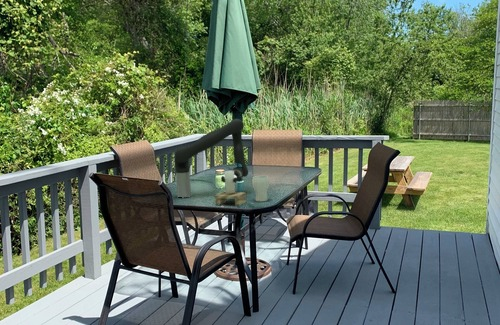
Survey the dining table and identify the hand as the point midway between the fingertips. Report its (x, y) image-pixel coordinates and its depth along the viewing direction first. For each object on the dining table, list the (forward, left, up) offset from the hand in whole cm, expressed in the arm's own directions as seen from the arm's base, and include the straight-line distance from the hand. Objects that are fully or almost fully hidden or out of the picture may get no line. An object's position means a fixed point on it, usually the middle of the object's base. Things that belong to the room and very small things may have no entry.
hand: (228, 180), depth 313 cm
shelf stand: (+1, +2, -15) cm, 15 cm away
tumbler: (+1, +2, -7) cm, 8 cm away
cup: (+21, +5, -15) cm, 26 cm away
